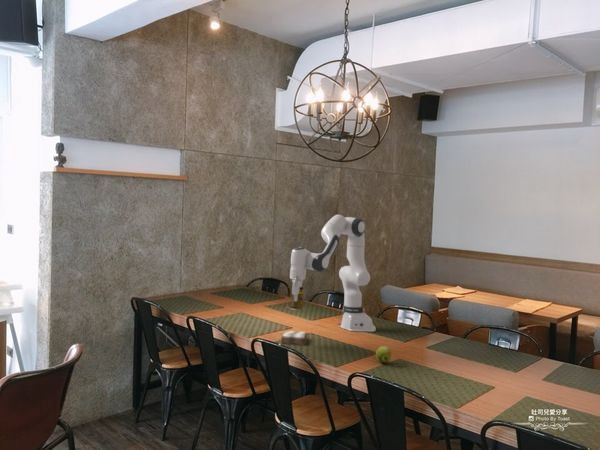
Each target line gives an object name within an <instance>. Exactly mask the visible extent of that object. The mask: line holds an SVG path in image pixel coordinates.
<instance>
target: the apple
mask: <svg viewBox="0 0 600 450" xmlns="http://www.w3.org/2000/svg"><path fill="white" fill-rule="evenodd" d="M375 358H376V360H377V361H378V362H380V363H382V364H384V363H385V364H386V363H388V362H389V361H390V360H391V358H392V352H391V349H390V348H389V347H388V346H383V345H381V346H380V347H378V348H377V349H376V352H375Z"/></svg>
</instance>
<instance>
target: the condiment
mask: <svg viewBox="0 0 600 450" xmlns="http://www.w3.org/2000/svg"><path fill="white" fill-rule="evenodd" d="M291 299H292V300H291V302H292V303H291V306H286V308H288V309H290V310H292V311H293V310H305V309H306V308H304V307H303V305H304V287H303V286H302V287H300V292H299V294H298V300H297V301H294V295H293V294H292V297H291Z"/></svg>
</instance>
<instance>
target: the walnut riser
mask: <svg viewBox="0 0 600 450" xmlns="http://www.w3.org/2000/svg"><path fill="white" fill-rule="evenodd" d="M307 335H308V333H307V332H306V331H298V330H297V331H296V330H284V332H283V334H282V335H281V342H280V343H281V344H285V345H298V346H299V345H301V346H305V345H306V342H307Z"/></svg>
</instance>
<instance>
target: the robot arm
mask: <svg viewBox="0 0 600 450" xmlns="http://www.w3.org/2000/svg"><path fill="white" fill-rule="evenodd" d="M365 230H366V222H365V221H364V219H362V218H360V217H352V216H344V215H342V214H335V215H333V216H332V217H331V218H330V219H329V220H328V221H327V222H326V223H325V224H324V226H323V227H322V229H321V231H320V234H321V235H320V236H321V238H322V239H323V241H324V242H325V243H326V245H325V248H324V249H323V251H322V252H321V253H318V252H317V253H315V252H311V251H309V250H308V249H306V247H305V246H295V247H293V249H292V251H291V254H290V255H291V256H290V268H289V279H290V280H291V282H292V287H291V290H292V291H291V294H292V296H293V295H294V301H297V300H298V294H299V292H300V287H303V282H304V280H306V274H307V270H311V271H316V272H319V273H323V272H325V271H326V270H327V269H328V268H329V265H330V262H331V259H332V257H333V256H334V254H335V253H336V250H337V248H338V246H339V244H340V237H341V236H342V235H346V236H347V245H346V259H347V260H348V263H349V265H344V266H341V268H340V269H339V271H338V275H339V276H338V277H339V279H340V280H341V282H342V286H343V287H342V288H343V293H344V298H343V300H344V301H343V306H342V319H341V323H340V328H342V329H343V330H346V331H349V332H367V333H368V332H371V333H372V332H376V330H377V327H376V326H375V325H374V323H373V319H372V317H370V316H369V315H368V314H366V308H365V307H364V306H362V299H363V298H362V297H363V294H362V291H361V290H360V287H364V286H367V285H368V284H369V282H370V281H371V275H370V274H371V273H369V271H368V270H367V266H366V261H365V247H366V242H365V241H366V239H365V238H366V237H365Z"/></svg>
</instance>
